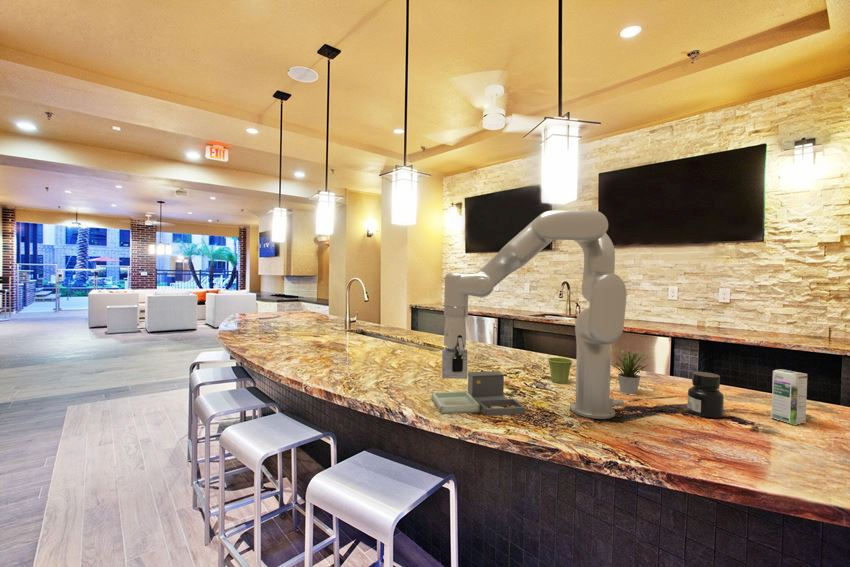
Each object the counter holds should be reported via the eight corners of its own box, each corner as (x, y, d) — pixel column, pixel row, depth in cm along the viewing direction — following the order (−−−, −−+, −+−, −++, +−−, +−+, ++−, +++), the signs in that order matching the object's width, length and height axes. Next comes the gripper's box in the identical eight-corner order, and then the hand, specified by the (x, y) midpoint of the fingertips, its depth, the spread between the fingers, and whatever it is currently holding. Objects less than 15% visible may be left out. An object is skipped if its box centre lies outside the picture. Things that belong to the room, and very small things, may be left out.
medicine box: (466, 375, 124) (467, 349, 124) (467, 379, 119) (467, 351, 119) (442, 374, 124) (442, 348, 124) (441, 378, 120) (442, 350, 120)
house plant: (665, 397, 133) (666, 350, 132) (636, 401, 128) (637, 352, 127) (629, 386, 146) (630, 343, 146) (601, 389, 141) (603, 345, 141)
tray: (466, 397, 130) (466, 391, 130) (479, 411, 116) (479, 405, 116) (431, 398, 128) (431, 392, 128) (440, 413, 114) (441, 406, 114)
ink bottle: (685, 406, 124) (686, 369, 124) (719, 411, 120) (720, 372, 120) (689, 415, 116) (690, 376, 115) (726, 421, 111) (727, 380, 111)
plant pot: (542, 379, 154) (542, 357, 154) (562, 377, 157) (562, 356, 157) (556, 385, 146) (557, 362, 145) (577, 384, 148) (578, 361, 148)
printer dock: (500, 392, 136) (500, 371, 136) (525, 413, 115) (526, 388, 115) (465, 394, 134) (465, 372, 133) (485, 415, 113) (486, 389, 113)
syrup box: (770, 418, 114) (771, 370, 114) (782, 416, 116) (783, 368, 116) (794, 426, 109) (796, 374, 108) (806, 423, 111) (808, 373, 110)
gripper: (438, 309, 129) (437, 363, 130) (451, 314, 112) (449, 376, 113) (460, 309, 131) (459, 362, 131) (475, 314, 114) (474, 376, 114)
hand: (454, 368), depth 122 cm, fingers closed on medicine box, 5 cm apart
